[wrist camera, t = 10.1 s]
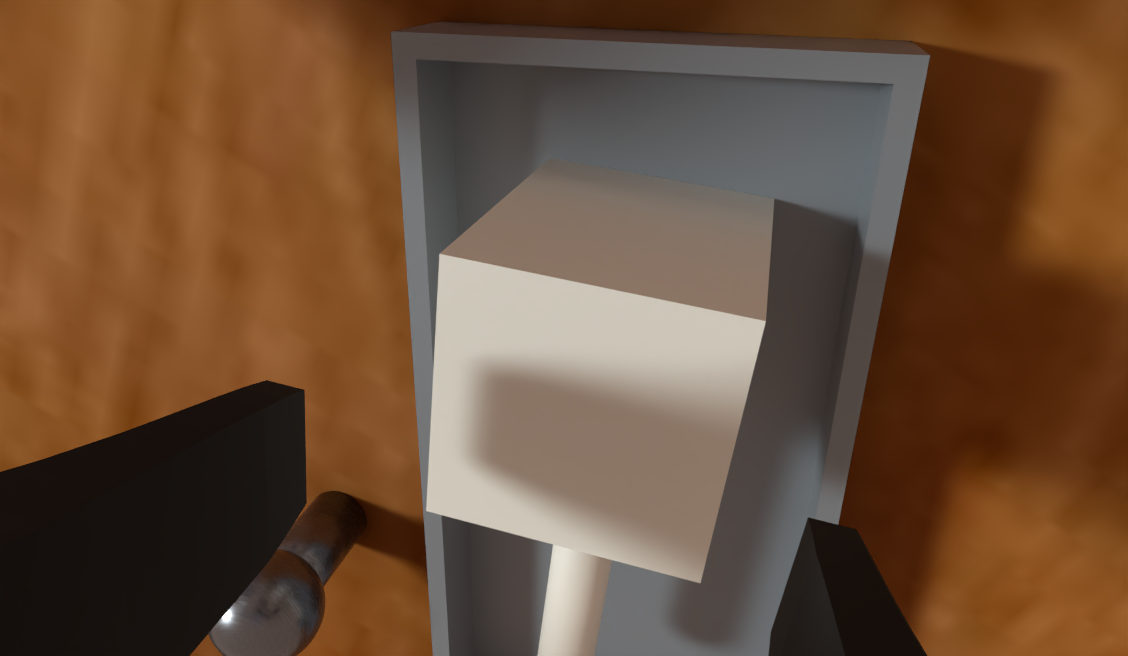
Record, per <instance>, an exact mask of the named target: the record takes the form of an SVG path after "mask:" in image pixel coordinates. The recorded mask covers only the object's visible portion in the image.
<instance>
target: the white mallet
mask: <svg viewBox="0 0 1128 656" xmlns="http://www.w3.org/2000/svg"><path fill="white" fill-rule="evenodd" d="M773 211H774V198H770V197H764V196H759V195H753V194H747V193H742V192H736V191H731V190H725V189H720V188H714V187H709V186H703V185H698V184H692V183H687V182H681V181H676V180H670V179H665V178H659V177H654V176H648V175H642V174H637V173H631V172H626V171H620V170H615V169H609V168H604V167H598V166H593V165H587V164H582V163H576V162H571V161H565V160H560V159H554V158H549V159H548V160H547V161H546V162H545V163H544V164H543V165H541V166H540V167H539V168H538V169H537V170H536V171H534V172H533V173H532V174H531V175H530V176H529V177H528V178H526V179H525V180H524V181H523V182H522V183H521V184H519V185H518V186H517V187H516V188H515V189H514V190H513V191H511V192H510V193H509V194H508V195H507V196H506V197H504V198H503V199H502V200H501V201H500V202H499V203H498V204H496V205H495V206H494V207H493V208H492V209H491V210H489V211H488V212H487V213H486V214H485V215H484V216H483V217H481V218H480V219H479V220H478V221H477V222H476V223H474V224H473V225H472V226H471V227H470V228H469V229H467V230H466V231H465V232H464V233H463V234H462V235H461V236H459V237H458V238H457V239H456V240H455V241H454V242H452V243H451V244H450V245H449V246H448V247H447V248H446V249H444V250H443V251H442V252H441V253H440V254H439V272H438V292H437V311H436V330H435V349H434V369H433V388H432V407H431V427H430V446H429V465H428V485H427V504H426V511H428V512H432V513H436V514H439V515H443V516H447V517H451V518H455V519H458V520H462V521H466V522H470V523H474V524H477V525H481V526H485V527H489V528H493V529H496V530H500V531H504V532H508V533H511V534H515V535H519V536H523V537H527V538H530V539H534V540H538V541H542V542H546V543H549V544H553V549H552V556H551V563H550V570H549V577H548V584H547V591H546V598H545V605H544V612H543V620H542V627H541V634H540V641H539V648H538V655H537V656H595V650H596V645H597V639H598V634H599V628H600V623H601V618H602V612H603V607H604V601H605V596H606V590H607V585H608V580H609V574H610V569H611V563H612V560H614V561H618V562H621V563H625V564H629V565H633V566H636V567H640V568H644V569H648V570H652V571H655V572H659V573H663V574H667V575H671V576H674V577H678V578H682V579H686V580H690V581H693V582H697V583H701V579H702V575H703V571H704V567H705V563H706V559H707V555H708V551H709V547H710V543H711V539H712V535H713V531H714V527H715V523H716V519H717V515H718V511H719V507H720V503H721V499H722V495H723V491H724V487H725V483H726V479H727V475H728V471H729V467H730V463H731V459H732V455H733V451H734V447H735V443H736V439H737V435H738V431H739V427H740V423H741V419H742V415H743V411H744V407H745V403H746V399H747V395H748V391H749V387H750V383H751V379H752V375H753V371H754V367H755V363H756V359H757V355H758V351H759V347H760V343H761V339H762V335H763V331H764V327H765V323H766V312H767V298H768V284H769V269H770V255H771V240H772V226H773Z"/></svg>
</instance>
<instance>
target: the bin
mask: <svg viewBox="0 0 1128 656" xmlns="http://www.w3.org/2000/svg"><path fill="white" fill-rule="evenodd" d="M391 42H392V57H393V72H394V87H395V101H396V116H397V131H398V146H399V160H400V175H401V190H402V205H403V220H404V234H405V249H406V264H407V279H408V293H409V308H410V323H411V338H412V352H413V367H414V382H415V397H416V411H417V426H418V441H419V456H420V471H421V485H422V500H423V515H424V530H425V544H426V559H427V574H428V589H429V603H430V618H431V633H432V648H433V656H537V655H538V648H539V641H540V634H541V627H542V620H543V612H544V605H545V598H546V591H547V584H548V577H549V570H550V563H551V556H552V549H553V544H549V543H546V542H542V541H538V540H534V539H530V538H527V537H523V536H519V535H515V534H511V533H508V532H504V531H500V530H496V529H493V528H489V527H485V526H481V525H477V524H474V523H470V522H466V521H462V520H458V519H455V518H451V517H447V516H443V515H439V514H436V513H432V512H428V511H426V504H427V485H428V465H429V446H430V427H431V407H432V388H433V369H434V349H435V330H436V311H437V292H438V272H439V254H440V253H441V252H442V251H443V250H444V249H446V248H447V247H448V246H449V245H450V244H451V243H452V242H454V241H455V240H456V239H457V238H458V237H459V236H461V235H462V234H463V233H464V232H465V231H466V230H467V229H469V228H470V227H471V226H472V225H473V224H474V223H476V222H477V221H478V220H479V219H480V218H481V217H483V216H484V215H485V214H486V213H487V212H488V211H489V210H491V209H492V208H493V207H494V206H495V205H496V204H498V203H499V202H500V201H501V200H502V199H503V198H504V197H506V196H507V195H508V194H509V193H510V192H511V191H513V190H514V189H515V188H516V187H517V186H518V185H519V184H521V183H522V182H523V181H524V180H525V179H526V178H528V177H529V176H530V175H531V174H532V173H533V172H534V171H536V170H537V169H538V168H539V167H540V166H541V165H543V164H544V163H545V162H546V161H547V160H548V159H549V158H554V159H560V160H565V161H571V162H576V163H582V164H587V165H593V166H598V167H604V168H609V169H615V170H620V171H626V172H631V173H637V174H642V175H648V176H654V177H659V178H665V179H670V180H676V181H681V182H687V183H692V184H698V185H703V186H709V187H714V188H720V189H725V190H731V191H736V192H742V193H747V194H753V195H759V196H764V197H770V198H774V211H773V226H772V240H771V255H770V269H769V284H768V298H767V312H766V323H765V327H764V331H763V335H762V339H761V343H760V347H759V351H758V355H757V359H756V363H755V367H754V371H753V375H752V379H751V383H750V387H749V391H748V395H747V399H746V403H745V407H744V411H743V415H742V419H741V423H740V427H739V431H738V435H737V439H736V443H735V447H734V451H733V455H732V459H731V463H730V467H729V471H728V475H727V479H726V483H725V487H724V491H723V495H722V499H721V503H720V507H719V511H718V515H717V519H716V523H715V527H714V531H713V535H712V539H711V543H710V547H709V551H708V555H707V559H706V563H705V567H704V571H703V575H702V579H701V583H697V582H693V581H690V580H686V579H682V578H678V577H674V576H671V575H667V574H663V573H659V572H655V571H652V570H648V569H644V568H640V567H636V566H633V565H629V564H625V563H621V562H618V561H614V560H612V563H611V569H610V574H609V580H608V585H607V590H606V596H605V601H604V607H603V612H602V618H601V623H600V628H599V634H598V639H597V645H596V650H595V656H768V655H769V645H770V635H771V630H772V626H773V623H774V620H775V617H776V614H777V611H778V608H779V605H780V602H781V599H782V596H783V593H784V590H785V587H786V584H787V580H788V577H789V574H790V571H791V568H792V565H793V562H794V559H795V556H796V553H797V550H798V547H799V544H800V541H801V537H802V534H803V531H804V528H805V525H806V522H807V519H808V517H809V518H813V519H817V520H821V521H825V522H829V523H833V524H837V525H838V523H839V518H840V513H841V508H842V503H843V498H844V493H845V488H846V483H847V478H848V472H849V467H850V462H851V457H852V452H853V447H854V442H855V437H856V432H857V427H858V421H859V416H860V411H861V406H862V401H863V396H864V391H865V386H866V381H867V376H868V370H869V365H870V360H871V355H872V350H873V345H874V340H875V335H876V330H877V325H878V319H879V314H880V309H881V304H882V299H883V294H884V289H885V284H886V279H887V274H888V268H889V263H890V258H891V253H892V248H893V243H894V238H895V233H896V228H897V222H898V217H899V212H900V207H901V202H902V197H903V192H904V187H905V182H906V177H907V171H908V166H909V161H910V156H911V151H912V146H913V141H914V136H915V131H916V126H917V120H918V115H919V110H920V105H921V100H922V95H923V90H924V85H925V80H926V75H927V69H928V64H929V59H930V55H929V54H928V53H926V52H925V51H924V50H922V49H921V48H920V47H919V46H917V45H916V44H915V43H913V42H912V41H898V40H873V39H849V38H824V37H800V36H776V35H751V34H727V33H703V32H678V31H654V30H630V29H605V28H581V27H557V26H532V25H508V24H484V23H459V22H435V23H430V24H425V25H420V26H415V27H410V28H406V29H401V30H396V31H391Z"/></svg>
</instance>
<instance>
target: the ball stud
mask: <svg viewBox="0 0 1128 656" xmlns="http://www.w3.org/2000/svg"><path fill="white" fill-rule="evenodd" d="M365 528H366V517H365V514H364V512H363V510H362V509H361V507H360V506H359V505H358V504H357V502H355V501H354V500H353V499H352V498H350V497H349V496H347V495H345V494H342V493H339V492H333V491H331V492H324V493H322V494H320V495H319V496H318V497H317V498H316V499H315V500H314V501H313V502H312V503H311V505H310V506H309V507H308V508H307V509H306V510H305V511H304V513H303V514H302V515H301V516H300V517H299V518H298V520H297V521H296V522H295V523H294V524H293V526H292V527H291V529H290V531H289V532H288V534H287V535H286V537H285V538H284V540H283V541H282V543H281V544H280V546H279V547H278V549H277V550H276V552H275V553H274V555H273V556H272V558H271V559H270V561H269V562H268V563H267V564H266V566H265V567H264V568H263V569H262V571H261V572H260V573H259V574H258V575H257V577H256V578H255V579H254V580H253V581H252V583H251V584H250V585H249V586H248V587H247V589H246V590H245V591H244V592H243V593H242V595H241V596H240V597H239V598H238V599H237V601H236V602H235V603H234V604H233V605H232V606H231V608H230V609H229V610H228V611H227V612H226V613H225V615H224V616H223V617H222V618H221V619H220V620H219V622H218V623H217V624H216V625H215V626H214V627H213V629H212V630H211V631H210V632H209V633H208V634H209V636H210V639H211V641H212V642H213V644H214V646H215V647H216V648H217V649H218V651H219V652H220V653H221V654H222V655H224V656H297V655H298V654H299V653H300V652H302V651H303V650H304V649H305V648H306V647H307V646H308V645H309V643H310V642H311V641H312V640H313V638H314V637H315V635H316V633H317V632H318V630H319V628H320V625H321V623H322V620H323V616H324V612H325V593H324V588H323V587H324V585H325V584H326V583H327V581H328V580H329V579H330V577H331V576H332V574H333V573H334V572H335V570H336V569H337V568H338V566H339V565H340V564H341V562H342V561H343V559H344V558H345V557H346V555H347V554H348V553H349V551H350V550H351V549H352V547H353V546H354V545H355V543H356V542H357V540H358V539H359V538H360V536H361V535H362V534H363V532H364V530H365Z"/></svg>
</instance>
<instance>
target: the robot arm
mask: <svg viewBox="0 0 1128 656" xmlns="http://www.w3.org/2000/svg"><path fill="white" fill-rule="evenodd" d="M305 504H306V448H305V393H304V390H303V389H299V388H295V387H291V386H287V385H283V384H279V383H275V382H271V381H267V380H266V381H263V382H260V383H256V384H253V385H249V386H246V387H243V388H240V389H238V390H235V391H232V392H229V393H226V394H224V395H221V396H218V397H216V398H213V399H210V400H208V401H205V402H202V403H200V404H197V405H194V406H192V407H189V408H186V409H184V410H181V411H179V412H176V413H173V414H171V415H168V416H165V417H163V418H160V419H157V420H155V421H152V422H149V423H147V424H144V425H141V426H139V427H136V428H133V429H131V430H128V431H125V432H122V433H120V434H117V435H114V436H111V437H108V438H105V439H102V440H99V441H96V442H93V443H90V444H87V445H84V446H81V447H78V448H75V449H72V450H69V451H66V452H63V453H60V454H57V455H54V456H52V457H49V458H46V459H42V460H39V461H36V462H33V463H29V464H26V465H23V466H19V467H16V468H12V469H9V470H5V471H2V472H0V656H190V654H191V653H192V652H193V651H194V650H195V649H196V647H197V646H198V645H199V644H200V643H201V642H202V640H203V639H204V638H205V637H206V636H207V634H208V633H209V632H210V631H211V630H212V629H213V627H214V626H215V625H216V624H217V623H218V622H219V620H220V619H221V618H222V617H223V616H224V615H225V613H226V612H227V611H228V610H229V609H230V608H231V606H232V605H233V604H234V603H235V602H236V601H237V599H238V598H239V597H240V596H241V595H242V593H243V592H244V591H245V590H246V589H247V587H248V586H249V585H250V584H251V583H252V581H253V580H254V579H255V578H256V577H257V575H258V574H259V573H260V572H261V571H262V569H263V568H264V567H265V566H266V564H267V563H268V562H269V561H270V559H271V558H272V556H273V555H274V553H275V552H276V550H277V549H278V547H279V546H280V544H281V543H282V541H283V540H284V538H285V537H286V535H287V534H288V532H289V531H290V529H291V527H292V526H293V524H294V522H295V521H296V519H297V518H298V516H299V514H300V513H301V511H302V509H303V508H304V506H305ZM768 656H927V654H926V653H925V651H924V650H923V648H922V646H921V645H920V643H919V641H918V640H917V638H916V636H915V635H914V633H913V631H912V630H911V628H910V626H909V624H908V623H907V621H906V619H905V617H904V616H903V614H902V612H901V610H900V609H899V607H898V605H897V603H896V601H895V600H894V598H893V596H892V594H891V592H890V591H889V589H888V587H887V585H886V583H885V581H884V579H883V578H882V576H881V574H880V572H879V570H878V568H877V566H876V564H875V563H874V561H873V559H872V557H871V555H870V553H869V551H868V549H867V547H866V545H865V544H864V542H863V540H862V538H861V536H860V535H859V533H858V532H857V530H856V529H853V528H849V527H845V526H841V525H837V524H833V523H829V522H825V521H821V520H817V519H813V518H809V517H808V519H807V522H806V525H805V528H804V531H803V534H802V537H801V541H800V544H799V547H798V550H797V553H796V556H795V559H794V562H793V565H792V568H791V571H790V574H789V577H788V580H787V584H786V587H785V590H784V593H783V596H782V599H781V602H780V605H779V608H778V611H777V614H776V617H775V620H774V623H773V626H772V630H771V635H770V645H769V655H768Z"/></svg>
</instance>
